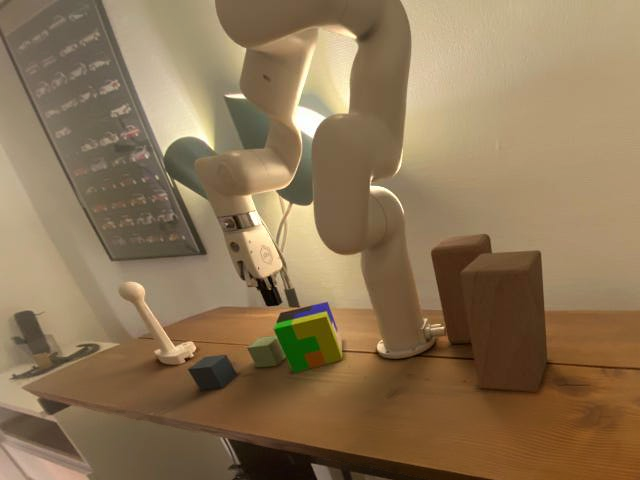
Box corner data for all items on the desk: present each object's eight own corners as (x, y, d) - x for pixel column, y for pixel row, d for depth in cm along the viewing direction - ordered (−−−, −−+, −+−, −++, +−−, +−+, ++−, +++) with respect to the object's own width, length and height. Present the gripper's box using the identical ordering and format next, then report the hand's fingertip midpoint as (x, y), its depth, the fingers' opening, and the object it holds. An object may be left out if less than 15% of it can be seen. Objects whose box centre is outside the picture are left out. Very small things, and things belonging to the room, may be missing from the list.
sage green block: (289, 354, 86) (280, 334, 84) (277, 365, 82) (268, 345, 79) (269, 356, 87) (260, 337, 84) (256, 367, 82) (246, 347, 80)
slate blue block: (237, 374, 80) (226, 354, 78) (222, 387, 76) (210, 366, 74) (216, 376, 81) (204, 356, 79) (200, 389, 77) (187, 369, 74)
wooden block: (548, 361, 67) (541, 249, 57) (537, 393, 59) (527, 269, 49) (495, 359, 70) (480, 252, 61) (478, 389, 62) (458, 272, 53)
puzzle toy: (341, 341, 88) (327, 301, 83) (342, 359, 80) (326, 316, 75) (297, 352, 86) (280, 312, 81) (293, 372, 77) (273, 329, 73)
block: (494, 344, 76) (480, 244, 66) (447, 345, 78) (428, 249, 69) (501, 323, 84) (490, 232, 75) (459, 325, 87) (442, 237, 77)
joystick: (154, 360, 94) (104, 284, 85) (185, 346, 100) (142, 274, 90) (175, 366, 89) (125, 286, 79) (207, 351, 95) (163, 274, 85)
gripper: (234, 227, 71) (272, 316, 80) (276, 214, 84) (304, 292, 93) (199, 232, 72) (240, 319, 81) (245, 218, 85) (276, 295, 94)
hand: (274, 304), depth 87 cm, fingers closed
